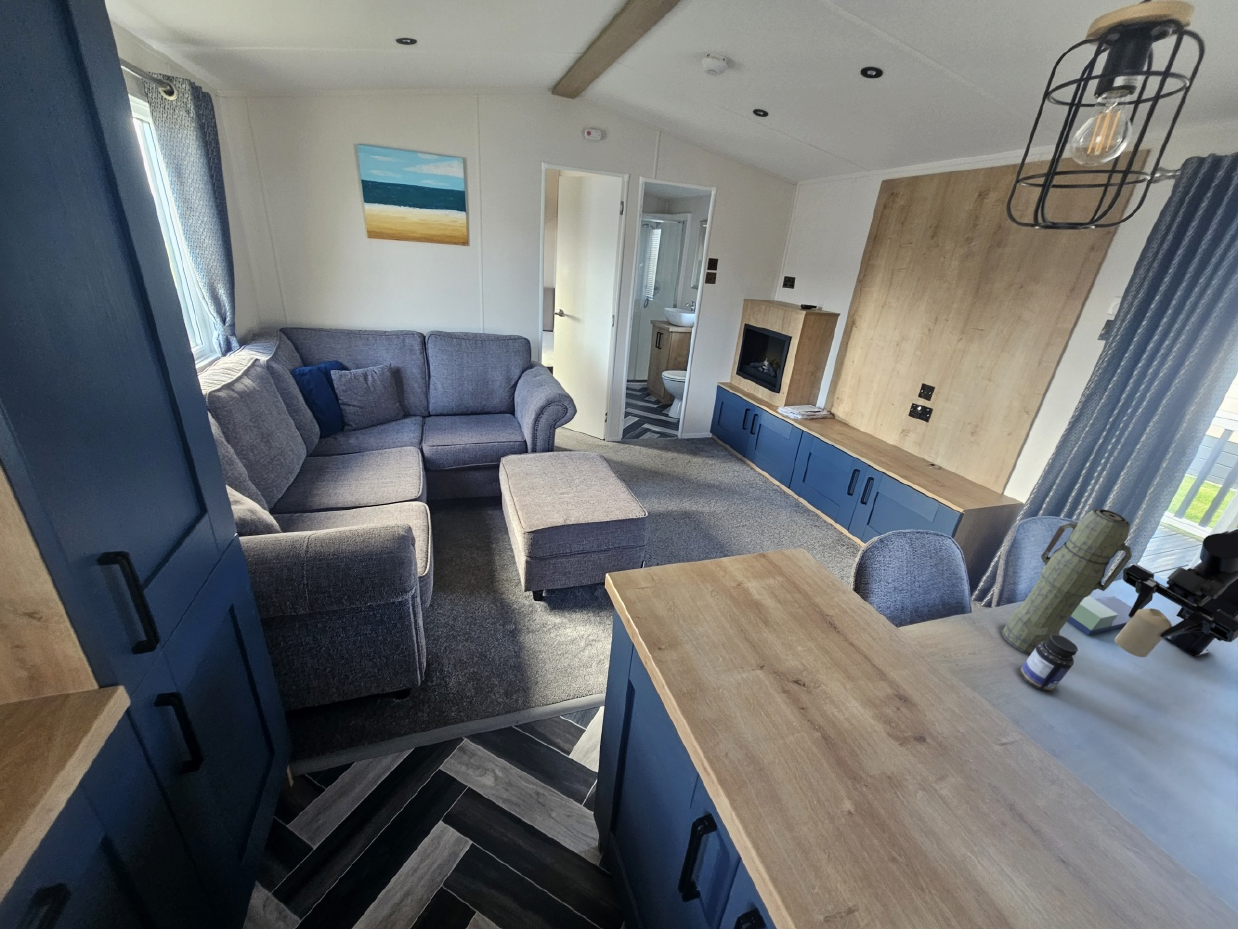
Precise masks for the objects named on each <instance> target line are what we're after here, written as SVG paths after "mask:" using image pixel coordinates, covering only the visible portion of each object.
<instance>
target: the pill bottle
mask: <svg viewBox="0 0 1238 929" xmlns="http://www.w3.org/2000/svg"><path fill="white" fill-rule="evenodd" d="M1078 651H1079V648H1078V646H1077V645H1076V644H1075V643H1074V642H1073V641H1072V640H1071V639H1069V638H1067V637H1066V636H1063V635H1061V634H1059V635H1057V634H1051V635H1050V636H1049V638H1048V639H1047V642H1046V641H1044V642H1040V643H1039V644H1038V645H1037V647H1036V648H1035V649H1034V651H1033V652H1032V654H1031V655H1028V657H1027V659H1026V660H1025V662H1024V663H1023V664H1022V666H1021V667H1020V669H1019V673H1020V676H1021V677H1022V679H1023V680H1024V681H1025V682H1026V683H1027V684H1029V685H1030V686H1031V687H1032V688H1035V689H1036V690H1040V691H1043V692H1053V691H1054V690H1055V689H1056V687H1057V686H1058V685H1059V684H1060V682H1061V681H1062V680H1063V679H1064V677H1065V676H1066V675H1067V673H1068V672H1069V671H1070V670H1071V669H1072V667H1073V666H1074V664H1075V659H1074V656H1075V655H1077V653H1078Z"/></svg>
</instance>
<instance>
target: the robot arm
mask: <svg viewBox="0 0 1238 929" xmlns="http://www.w3.org/2000/svg"><path fill="white" fill-rule="evenodd" d="M1199 553H1200V555H1199V561H1198V562H1197V563H1195V564H1194V565H1193V566H1191V567H1188V568H1187V569H1186V568H1184V567H1182V566H1178V567H1177V568H1176V569H1175V570H1174V571H1173V572H1172V573H1170V575H1168V576H1167V579H1168V580H1166V585H1167V586H1165V585H1163V584H1162V583H1160V582H1158V581H1157V580H1156V579H1155V573H1154V572H1152V571H1150V570H1149V569H1147V568H1145V567H1143V566H1141V565H1140V564H1137V563H1131V564H1127V566H1125V567H1123V569H1122V581H1123V582H1124V583H1125V584H1127V585H1129V586H1131V587H1133V588H1134V589H1135V593H1136V594H1137V597H1136V600H1135V602H1134V603H1133V605H1132V606H1131V607H1132V609H1131V611H1130V613H1129V615H1128V617H1130V618H1131V617H1133V616H1134V614H1135V613H1136V612H1137V611H1138V610H1139V609H1145V607H1146V606H1147V605H1149V603H1151V602H1152V601H1153V597H1154V595H1155V594H1156V593H1157V594H1158V595H1160V596H1162V597H1163V598H1165V599H1167V600H1168V601H1171V602H1172V603H1174V604H1176V605H1177V606H1179V607H1181V608H1180V609H1179V611H1178V612H1177V614H1176V617H1178V618H1180V619H1182V620H1181V621H1179V622H1178V623H1176V624H1174V625H1172V627H1171V628H1169V629H1168V630H1166V631H1165V632H1164V633H1163V634H1162V635H1161V637H1162V639H1165V640H1167V641H1169V642H1170V643H1172V644H1173V645H1175V646H1176V647H1178V648H1180V649H1181V650H1183V651H1184V652H1186V653H1188V654H1189V655H1191V656H1192V657H1195V658H1196V657H1199V656H1204V655H1207V654H1209V653H1210V650H1209V649H1207V647H1209V645H1210V644H1212V642H1214V641H1215V639H1216V640H1217V641H1219V642H1222V641H1223V642H1226V643H1232V642H1233V641H1235V640H1236V639H1237V638H1238V527H1237V528H1234V529H1232V530H1226V531H1223V532H1220V533H1219V532H1218V533H1213V534H1208V535H1207V536H1206V537H1204V538H1203V540H1202V544H1201V549H1200V552H1199Z"/></svg>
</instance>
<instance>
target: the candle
mask: <svg viewBox="0 0 1238 929" xmlns="http://www.w3.org/2000/svg"><path fill="white" fill-rule="evenodd" d="M1171 627H1173V624H1172V623H1171V621H1170V620H1169V619H1168V617H1167V615H1165V614H1164V613H1163V612H1162V611H1161V610H1160V609H1157V608H1152V607H1151V608H1150V607H1149V608H1143V609H1139V610H1138V611H1137V612H1136V613H1135V614H1134V616H1133V617H1132V618H1131V619H1130V620H1129V622H1128V623H1127V624H1126V625H1125V627H1122V629H1121V630H1120V631H1119V633H1118V634H1117V635H1116V636H1115V638H1114V642H1115V643H1116V645H1117V646H1118V647H1120V648H1121V649H1122V650H1123V651H1125V652H1127V653H1128V654H1131V655H1132V656H1135V657H1138V658H1146V657H1148V656H1149V654H1150V653H1151V652H1152V651H1153V650H1154V649H1155V648H1156V646H1157V645H1158V644H1159V643H1160V642H1161V641H1162V639H1163V638H1162V637H1161V635H1162V634H1163V633H1164V632H1165V631H1166V630H1168V629H1169V628H1171Z"/></svg>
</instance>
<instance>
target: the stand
mask: <svg viewBox="0 0 1238 929" xmlns="http://www.w3.org/2000/svg"><path fill="white" fill-rule="evenodd" d="M1132 607H1133V606H1130V605H1129V604H1128V603H1126V602H1124V601H1122V599H1119V598H1117V597H1116V596H1109V597H1104V598H1103V597H1102V598H1099V599H1098V598H1097V599H1095V598H1094V597H1092V596H1091V595H1089V596H1087V597H1085V598H1084V599H1083V600H1082V601H1081V603H1080V604H1079V605H1078V607H1077V608H1076V609H1075V611H1074V612H1073V614H1072V615H1071V616H1070V618H1069V619H1068V620H1067V622H1069V623H1070V624H1072V625H1073V626H1075V627H1076V628H1077V629H1079V630H1080V631H1082V632H1083V633H1084V634H1086V635H1087V636H1090V635H1094V634H1098V633H1103V632H1107V631H1111V630H1116V629H1120V628H1124V627H1125V625H1126V624H1127V623H1128V622H1129V620H1130V619H1131V618H1132V617H1131V618H1130V617H1128V615H1129V613H1130V611H1131V609H1132Z"/></svg>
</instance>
